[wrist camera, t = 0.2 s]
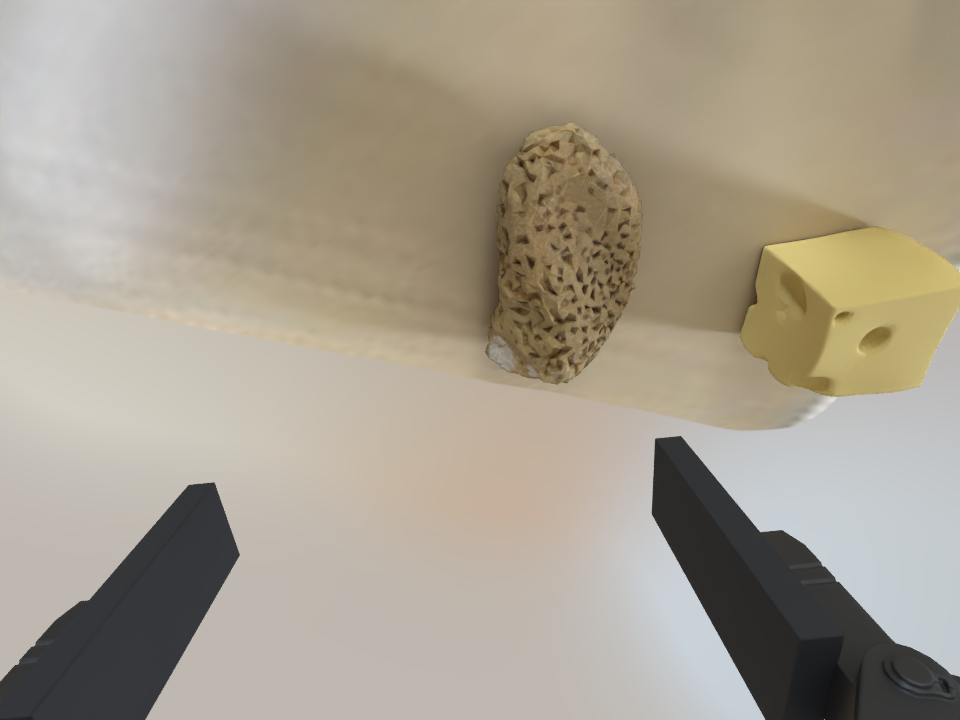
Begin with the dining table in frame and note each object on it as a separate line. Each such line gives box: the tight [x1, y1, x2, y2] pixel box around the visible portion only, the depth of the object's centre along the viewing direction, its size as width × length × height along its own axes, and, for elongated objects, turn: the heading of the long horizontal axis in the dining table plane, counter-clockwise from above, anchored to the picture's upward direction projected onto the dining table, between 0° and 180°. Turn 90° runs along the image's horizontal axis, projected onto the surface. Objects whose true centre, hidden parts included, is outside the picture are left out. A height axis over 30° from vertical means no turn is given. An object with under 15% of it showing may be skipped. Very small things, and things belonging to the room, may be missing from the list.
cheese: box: [740, 227, 960, 396], centre depth 41 cm, size 10×11×10 cm
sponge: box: [485, 122, 642, 384], centre depth 38 cm, size 13×8×20 cm
